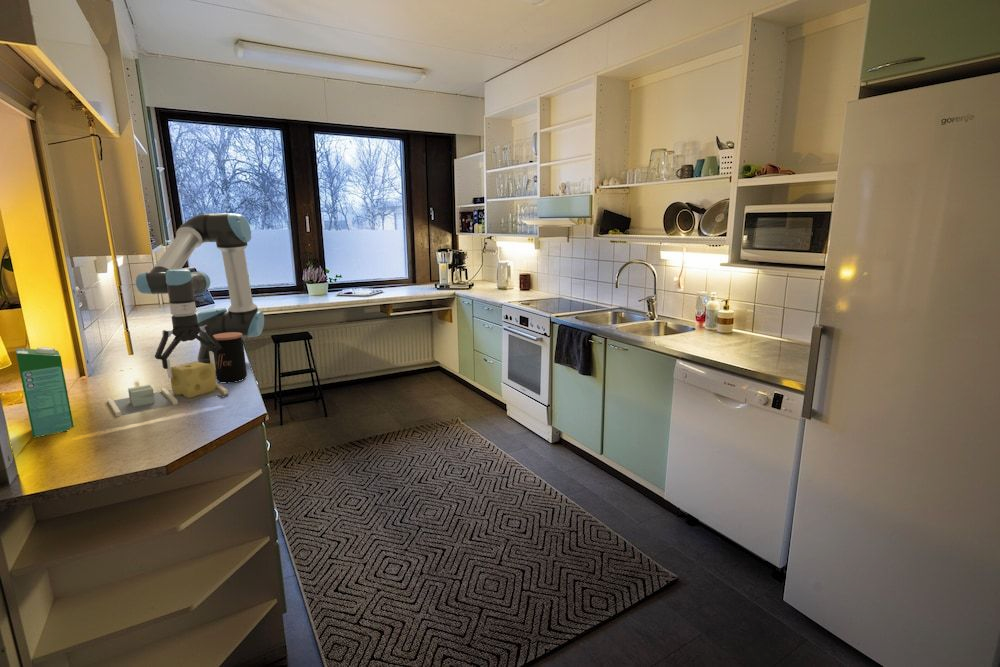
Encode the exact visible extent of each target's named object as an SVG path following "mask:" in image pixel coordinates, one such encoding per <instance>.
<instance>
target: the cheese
mask: <svg viewBox="0 0 1000 667" xmlns="http://www.w3.org/2000/svg"><path fill="white" fill-rule="evenodd" d="M171 373H172V378H170V384H171V390H172V391H173V394H176V395H184V397H187V398H192V397H195V396H198V395H201V394H205V393H208V392H212V391H215V386H216V382H217V379H216V372H215V368H214V365H213V364H208V363H201V362H198V361H192V362H188V363H185V364H180V365H176V366H171Z"/></svg>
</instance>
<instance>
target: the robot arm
mask: <svg viewBox="0 0 1000 667" xmlns="http://www.w3.org/2000/svg"><path fill="white" fill-rule="evenodd" d="M251 238H252V230H251V226H250V224H249V222H248V220H247V218H246V217H245V216H244V215H243V214H239V213H230V212H229V213H228V212H227V213H223V212H221V213H200V214H197V215H194V216H192V217H191V218H189V219H188V220H186V221H185V222H183V223H182V224H181V225H180V226H179V227H178V229H177V230H176V232H175V238H174V239H173V240H172V242H171V243H170V245H169V246H168V247H167V249H165V251H164V252H163V254H162V255H161V257H160V258H159V259H158V261H157V262H156V264H154V266H153V267H152V269H151V270H150V272H147V271H146V272H141V273H138V274H137V276H136V278H135V286H136V289H137V290H138V292H140V293H141V294H147V295H166V294H167V295H168V302H169V309H170V315H171V324H172V330H166V329H163V330H162V337H161V340H160V342H159V345H158V347H157V349H156V351H155V354H154V358H155V359H156V360H160V361H161V363H162V368H163V369H164V370H166V372H167V377H168V378H169V379H171V378H172V373H171V367H172V365H171V361H170V360H171V359H169V357H170V355H171V354H172V352H173V351H174V350H175V348H176V347H177V346H178V344H180V343H181V342H188V341H195V340H198V342H199V344H200V346H199V350H198V355H197V362H201V363H208V364H213V365H214V368H215V360H217V350H219V349H222V347H221V345H220V344H219V343H218V341H217V340H216V339H215V337H214V336H213V335H215V334H220V333H228V332H239V333H242V337H241V338H253V337H258V336H260V335H261V334H262V332H263V330H264V325H265V315H264V312H263V311H262V310H259V309H258V305H257V304H256V303H254V302H253V295H252V290H251V284H250V277H249V271H248V264H247V259H246V251H245V249H246V248H247V247H248V242H250V241H251ZM205 243H216V249H217V248H218V249H219V251H221V254H222V260H223V261H222V262H223V267H224V272H225V276H226V282H227V289H228V294H229V299H230V304H231V305H230V306H229V308H228V309H227V308H226V307H220V308H212V309H207V310H203V311H202V310H201V311H200V312H198V313H197V314H196V312H197V308H196V300H195V294H196V295H197V294H198V293H201V294H202V293H203V292H204V291H207V289H209V288H210V286H211V279H210V277H209V275H208V274H207V273H206V272H204V271H192V272H191V270H190V269H188V268H183V267H184V266H185V264H186V262H187V261H188V259H189V258H190V257H191V255H192V254H193V253H194V250H196V249H197V248H199V247H201V246H202V244H205ZM171 335H173V336H174V338H173V340H172V341H171V343H169V346H168V347H167V348H166V350H165V347H166V345H167V342H168V340H169V338H170V337H171ZM212 342H213V344H214V345H215V346H216V347H213V346H212ZM164 350H165V351H164ZM215 370H216V368H215Z"/></svg>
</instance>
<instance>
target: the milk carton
mask: <svg viewBox="0 0 1000 667" xmlns="http://www.w3.org/2000/svg"><path fill="white" fill-rule="evenodd" d="M14 350H15V355H16V359H17V360H16V361H17V364H18V370H19V375H20V380H21V385H22V389H23V394H24V399H25V405H26V408H27V413H28V418H29V424H30V428H31V435H32V438H33V437H38V436H42V435H47V436H49V435H48V434H52V435H54V434H53V433H57V434H59V433H58V432H61V433H64V432H63V431H66V432H68V431H67V430H69V428H75V425H74V421H73V415H72V409H71V404H70V399H69V395H68V393H69V392H68V387H67V383H66V382H67V381H66V378H65V372H64V367H63V362H62V361H63V360H62V356H61V354H60V352H59V350H56V348H53V347H46V346H44V347H43V346H40V347H39V346H38V347H37V348H36V349H35V348H20V347H18V348H17V347H16V348H14ZM69 431H70V430H69ZM38 438H39V437H38Z"/></svg>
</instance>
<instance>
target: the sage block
mask: <svg viewBox="0 0 1000 667" xmlns="http://www.w3.org/2000/svg"><path fill="white" fill-rule="evenodd" d="M127 392H128V398H130V403H131V404H132V406H133V407H136V406H141V405H146V404H151V403H155V399H154V393H155V392H154V388H153V387H152V386H151V385H150V384H145V385H144V384H143V385H140V386H133V387H128V388H127Z"/></svg>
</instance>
